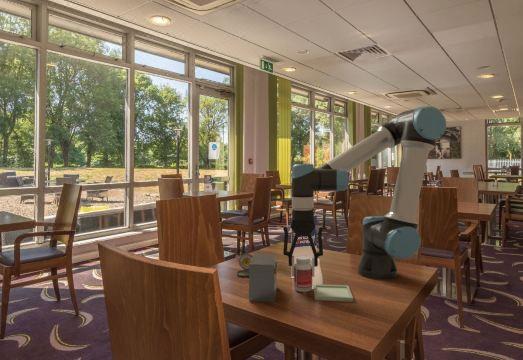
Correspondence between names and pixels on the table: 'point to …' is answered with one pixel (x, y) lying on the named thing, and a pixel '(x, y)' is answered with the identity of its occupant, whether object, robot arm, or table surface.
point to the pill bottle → (303, 274)
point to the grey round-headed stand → (244, 260)
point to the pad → (333, 293)
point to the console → (263, 277)
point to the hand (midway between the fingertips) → (303, 275)
